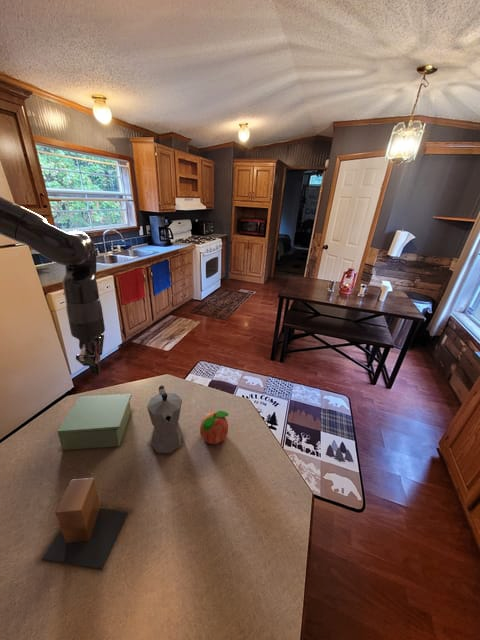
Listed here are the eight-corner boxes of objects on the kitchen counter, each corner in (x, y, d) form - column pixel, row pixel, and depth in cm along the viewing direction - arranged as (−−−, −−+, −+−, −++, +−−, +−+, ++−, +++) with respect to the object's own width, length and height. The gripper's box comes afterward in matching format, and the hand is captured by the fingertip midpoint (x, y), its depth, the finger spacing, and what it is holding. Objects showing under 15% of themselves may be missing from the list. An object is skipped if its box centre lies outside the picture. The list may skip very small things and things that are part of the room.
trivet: (43, 561, 49) (41, 559, 49) (78, 506, 58) (77, 504, 58) (102, 572, 48) (101, 569, 48) (128, 514, 57) (128, 512, 57)
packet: (100, 507, 58) (93, 477, 54) (89, 540, 52) (80, 510, 48) (79, 509, 57) (71, 479, 53) (65, 543, 51) (55, 512, 47)
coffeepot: (187, 456, 72) (187, 406, 65) (153, 466, 68) (148, 415, 61) (177, 417, 85) (176, 373, 78) (147, 425, 81) (143, 378, 74)
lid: (131, 395, 83) (131, 393, 82) (119, 428, 70) (119, 426, 70) (80, 398, 80) (79, 396, 80) (57, 433, 68) (57, 431, 67)
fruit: (193, 435, 79) (193, 410, 75) (218, 422, 84) (220, 398, 80) (208, 455, 73) (209, 430, 69) (234, 440, 78) (236, 415, 74)
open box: (131, 413, 85) (129, 396, 83) (119, 448, 73) (116, 430, 70) (83, 415, 83) (80, 398, 80) (63, 451, 70) (57, 433, 68)
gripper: (80, 306, 69) (90, 360, 75) (55, 327, 57) (70, 389, 63) (110, 307, 70) (117, 360, 77) (92, 327, 58) (102, 388, 65)
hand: (95, 373), depth 70 cm, fingers closed
